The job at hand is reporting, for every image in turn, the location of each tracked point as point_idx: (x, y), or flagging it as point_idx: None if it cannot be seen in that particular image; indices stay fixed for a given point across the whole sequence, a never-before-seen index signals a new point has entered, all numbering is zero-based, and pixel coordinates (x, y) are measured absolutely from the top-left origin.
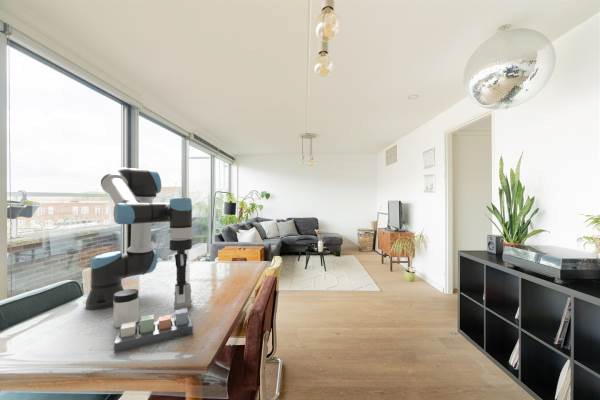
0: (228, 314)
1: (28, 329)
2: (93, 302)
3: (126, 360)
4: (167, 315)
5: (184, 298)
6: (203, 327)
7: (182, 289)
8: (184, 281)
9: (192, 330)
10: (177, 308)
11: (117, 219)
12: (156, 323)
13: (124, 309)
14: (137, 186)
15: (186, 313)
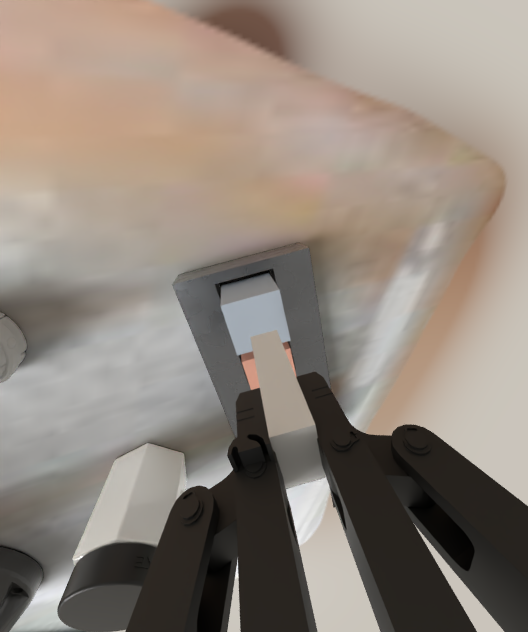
0: (100, 39)
1: None
2: (26, 603)
3: (375, 385)
4: (247, 372)
5: (281, 345)
6: (248, 201)
7: (337, 405)
8: (465, 468)
9: (303, 245)
10: (23, 355)
11: None
12: (241, 388)
13: None
14: None
15: (279, 294)
